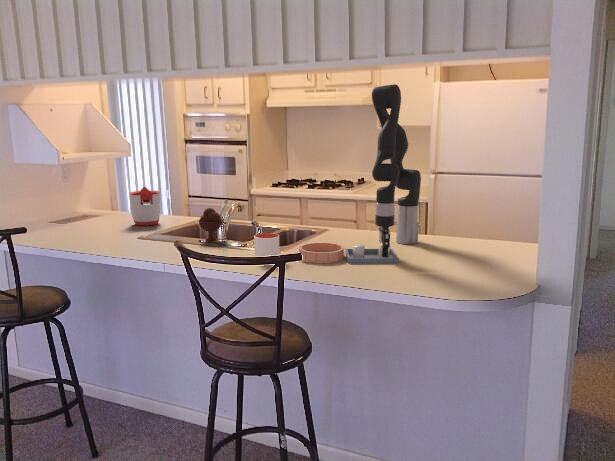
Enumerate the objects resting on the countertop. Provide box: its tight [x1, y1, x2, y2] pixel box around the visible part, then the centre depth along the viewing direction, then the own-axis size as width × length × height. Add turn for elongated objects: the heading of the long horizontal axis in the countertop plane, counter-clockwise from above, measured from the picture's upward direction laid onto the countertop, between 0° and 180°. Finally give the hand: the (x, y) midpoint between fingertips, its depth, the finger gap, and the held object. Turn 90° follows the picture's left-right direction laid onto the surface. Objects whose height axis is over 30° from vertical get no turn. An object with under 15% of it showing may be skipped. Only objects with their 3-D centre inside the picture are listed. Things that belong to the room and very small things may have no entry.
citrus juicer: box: [129, 186, 161, 227], centre depth 295 cm, size 16×17×20 cm
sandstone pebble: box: [377, 242, 391, 257], centre depth 226 cm, size 5×5×5 cm
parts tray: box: [344, 248, 399, 264], centre depth 227 cm, size 20×16×2 cm
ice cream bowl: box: [198, 207, 223, 243], centre depth 259 cm, size 11×11×15 cm
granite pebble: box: [352, 244, 365, 258], centre depth 226 cm, size 5×5×5 cm
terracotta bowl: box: [298, 241, 345, 264], centre depth 228 cm, size 18×18×4 cm
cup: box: [253, 232, 280, 257], centre depth 226 cm, size 10×10×10 cm
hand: (383, 255), depth 227 cm, fingers closed on sandstone pebble, 4 cm apart
